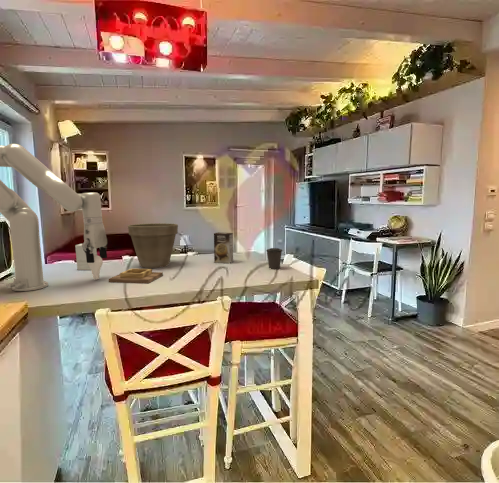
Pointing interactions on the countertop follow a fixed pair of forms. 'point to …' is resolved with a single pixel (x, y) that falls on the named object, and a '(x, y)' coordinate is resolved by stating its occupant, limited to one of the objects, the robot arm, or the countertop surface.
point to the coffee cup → (274, 257)
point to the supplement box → (82, 258)
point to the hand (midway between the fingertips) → (97, 260)
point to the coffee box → (223, 247)
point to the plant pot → (153, 243)
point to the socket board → (136, 276)
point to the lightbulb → (96, 266)
